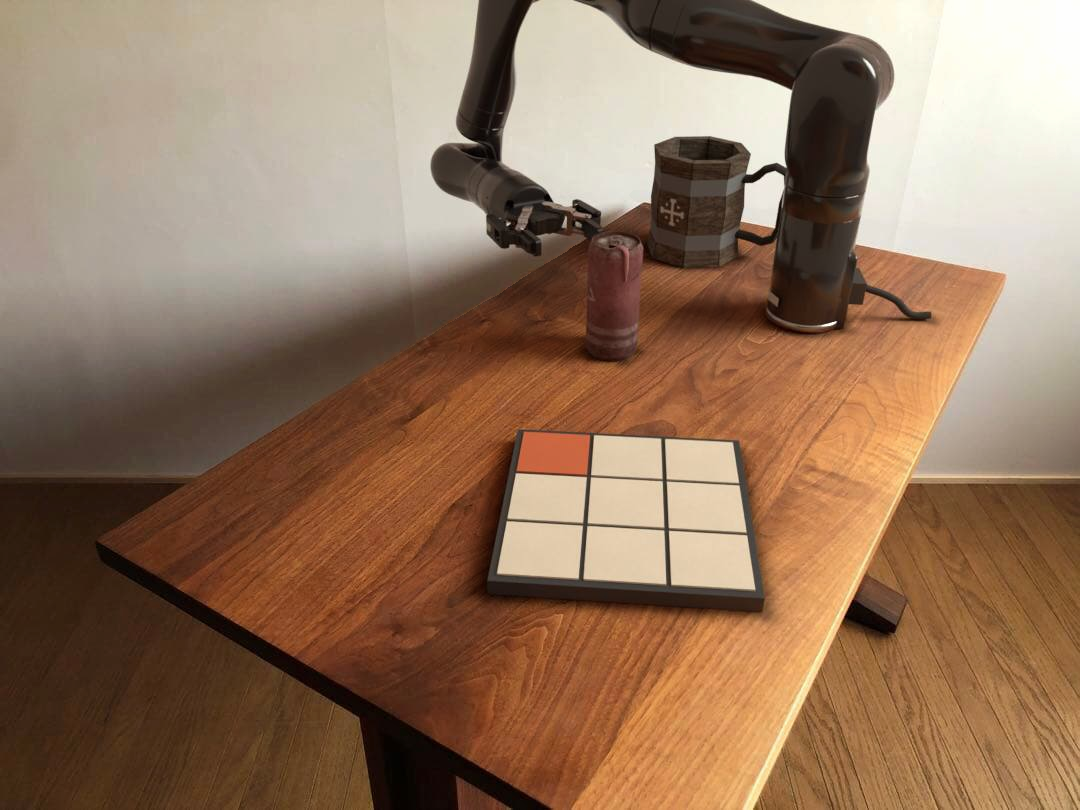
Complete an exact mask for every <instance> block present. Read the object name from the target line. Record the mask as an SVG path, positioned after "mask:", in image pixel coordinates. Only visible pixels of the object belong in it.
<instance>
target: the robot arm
mask: <svg viewBox="0 0 1080 810" xmlns="http://www.w3.org/2000/svg"><path fill="white" fill-rule="evenodd" d="M540 1H541V0H478V3H477V12H476V20H475V28H474V29H475V30H474V37H473V45H472V52H471V58H470V63H469V68H468V72H467V75H466V79H465V83H464V85H463V90H462V93H461V97H460V101H459V104H458V108H457V112H456V116H455V127H456V129H457V132H458V133H459V134H460V135H461V136H463V137H464V138H465V139H467V140H468V141H471V142H446V143H442V144H441V145H439V146H438V147H437V148H436V149H435V150H434V151H433V153H432V156H431V158H430V163H429V165H430V166H429V167H430V173H431V177H432V179H433V181H434V184H435V185H436V186H437V187H438V188H439V189H440V190H441V191H442V192H444V193H446V194H447V195H450V196H452V197H454V198H457V199H460V200H463V201H466V202H469V203H473V204H474V205H475V206H477V208H479V209H480V210H482V211H483V212H484V214H485V227H486V228H485V229H486V235H487V236H488V237H489V239H491V240H492V241H493V242H494V243H495V244H496V245H497V246H498V247H499V248H500V249H503V250H507V249H509V248H510V246H511V245H514V247H515V248H517V249H522V250H523V251H524V252H525V253H527V254H530V255H532V256H533V257H535V258H536V257H541V256H542V240H541V238H540V237H539V236H543V235H552V234H554V235H555V234H556V235H559V236H561V235H562V236H566V237H571V236H572V235H574V234H575V235H581V236H583V237H584V238H586V239H587V240H588V241H589V242H591V241H592V238H593V237H594V236H595V235H597V234H600V233H604V232H605V228H604V226H602V225H601V222H602V221H601V220H602V210H599V209H598V208H596V207H594V206H592V205H591V204H589V203H588V202H585V201H583V200H581V199H578V198H575V199H573V200H572V203H571V205H570V206H564V205H562V204H559V203H556V202H554V200H553V199H552V197H551V195H550V193H549V191H548V190H546V189H545V187H543V186H542V185H540V184H539V183H537V182H536V181H534V180H533V179H531V178H530V177H528V176H527V175H525V174H524V173H522V172H521V171H518V170H516V169H513V168H511V167H510V166H508V165H507V164H505V163H504V162H503V145H504V133H505V127H506V124H507V121H508V119H509V115H510V111H511V108H512V105H513V102H514V98H515V94H516V89H517V78H518V77H517V64H516V48H517V40H518V37H519V33H520V30H521V28H522V25H523V23H524V21H525V18H526V16H527V14H528V12H529V11H530V9H531V7H532V5H533V4H535V3H537V2H540ZM573 1H574V2H576V3H579V4H583V5H586V6H588V7H591V8H594V9H596V10H598V11H599V12H601V13H603V14H604V15H605V16H607V17H608V18H609V19H610V20H611V21H613V23H614V24H615V25H616V26H617V27H618V28H619V29H620V30H621V31H622V32H623V33H624V34H625V35H626V36H627V37H628V38H629V39H630V40H632V41H633V42H634V43H636V44H637V45H639V47H642V48H644V49H646V50H648V51H650V52H652V53H655V54H657V55H660V56H662V57H664V58H667V59H669V60H672V61H674V62H677V63H680V64H682V65H686V66H689V67H693V68H696V69H701V70H706V71H712V72H718V73H725V74H726V73H727V74H733V75H739V76H740V75H741V76H747V77H754V78H758V79H762V80H766V81H769V82H771V83H774V84H777V85H778V86H781V87H783V88H785V89H788V90H790V91H791V94H790V99H789V107H788V116H787V123H786V125H787V126H786V132H785V142H784V162H785V167H786V168H787V171H786V179H785V186H784V185H783V187H784V188H783V190H784V193H783V192H782V193H783V200H782V207H781V214H780V221H779V227H778V234H777V239H776V240H775V249H774V254H773V262H772V269H771V275H770V280H769V281H770V282H769V289H768V293H767V300H766V301H767V302H766V305H765V312H764V313H765V316H766V318H767V319H768V320H769V321H770V322H771V323H773V324H774V325H776V326H778V327H780V328H783V329H785V330H788V331H793V332H800V333H808V334H809V333H811V334H815V333H816V334H817V333H825V332H829V331H833V330H835V329H845V326H846V319H847V315H848V309H849V305H856V306H863V305H864V300H865V295H866V293H867V294H870V295H874V296H877V297H880V298H882V299H885V300H887V301H889V302H891V303H893V304H894V305H895V306H896V307H897V309H898V310H899V311H900V313H902V314H903V315H904V316H905V317H908V318H909V319H911V320H930V319H932V311H913V310H911V309H910V308H909V307H908V306H907V305H906V304H905V302H904V301H903V300H902V299H901V298H900V297H898V296H897V295H895V294H893V293H891V292H889V291H887V290H884V289H882V288H878V287H876V286H873V285H870V284H868V283H867V281H866V279H865V277H864V275H863V273H862V271H861V268H860V267H857V265H858V258H859V257H858V255H857V252H856V251H855V249H856V243H857V240H858V239H857V238H858V233H859V228H860V223H861V218H862V212H863V207H864V202H865V198H866V193H867V187H868V182H869V178H870V171H871V169H870V165H869V162H868V154H869V147H870V141H871V137H872V129H873V124H874V119H875V113H876V111H877V110H878V109H880V108H881V106H882V105H883V104H884V103H885V102H886V100H887V99H888V97H889V96H890V94H891V92H892V90H893V87H894V83H895V77H896V76H895V74H896V73H895V67H894V64H893V61H892V58H891V57H890V55H889V53H888V52H887V50H885V48H884V47H882V45H881V44H879V43H878V42H876V41H875V40H874V39H872V38H870V37H867V36H865V35H860V34H857V33H852V32H847V31H843V30H839V29H835V28H830V27H826V26H823V25H820V24H815V23H810V22H807V21H803V20H800V19H797V18H793V17H792V16H788V15H785V14H783V13H780V12H778V11H777V10H774V9H772V8H769V7H767V6H766V5H764V4H761V3H759V2H757V1H755V0H573ZM472 142H473V143H472ZM565 220H566V227H563V225H564V222H565ZM577 223H578V224H580V225H581V226H577Z"/></svg>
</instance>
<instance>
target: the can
mask: <svg viewBox="0 0 1080 810" xmlns="http://www.w3.org/2000/svg"><path fill="white" fill-rule="evenodd" d="M641 241H642V240H641V239H640V237H639V236H637V235H635V234H633V233H630V232H625V231H619V230H618V231H615V230H613V231H604V233H600V234H597V235H595V236H594V237H593V238H592V241H590V243H589V244H588V255H587V257H588V258H587V286H586V287H587V289H586V290H587V292H586V321H585V323H586V324H585V348H586V350H587V352H588V353H589V354H590V355H591V356H592V357H593V358H596V359H599V360H602V361H606V362H619V361H623V360H627V359H629V358H631V357H632V355H634V353H635V352H636V351H637V349H638V339H639V337H638V336H639V322H640V321H639V320H640V306H641V293H642V292H641V289H642V277H643V275H642V274H643V260H644V259H643V258H644V245H643V244H642V242H641Z"/></svg>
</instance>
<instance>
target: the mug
mask: <svg viewBox="0 0 1080 810" xmlns="http://www.w3.org/2000/svg"><path fill="white" fill-rule="evenodd" d="M653 147H654V148H653V149H654V150H653V151H654V172H653V181H652V188H651V194H650V227H649V234H648V238H647V244H646V245H647V248H648V250H649V252H650V254H651V257H652V259H655V260H657V261H659V262H660V261H661V262H663V263H665V264H666V263H667V264H670V265H673V266H676V267H678V268H682V269H691V268H692V269H694V268H695V269H696V268H697V269H698V268H720V267H722V266H723V265H725V264H726V263H729V262H731V261H732V260H734V259H736V258H737V257H738V256H739V240H742V241H745V242H748V243H752V244H755V245H757V246H760V247H763V246H767V245H771V244H774V243H775V242H776V241H777V234H778V227H779V221H780V214H781V207H782V200H783V193H784V189H783V190H782V193H781V196H780V199H779V202H778V208H777V212H776V220H775V225H774V229H773V230H772V232H771V234H770V235H766V236H761V235H758V234H757V233H754V232H752V231H749V230H745V229H741V228H740V226H741V223H742V222H741V221H742V218H743V213H744V209H745V194H746V193H745V190H746V184H755V183H756V182H758V181H760V180H761V179H762V178H763V177H765V175H767V174H771V173H773V172H775V173H778V174H780V175H781V176H783V187H784V186H785V179H786V171H787V168H786V166H784V165H782V164H780V163H778V162H774V163H769V164H765V165H763V166H762V167H761V168H759V169H758V170H757V171H755V172H754V173H752V174H751V173H750V174H749V173H748V168H749V165H750V161H751V160H750V159H751V156H752V153H751V152H750V151H749V150H748V148H746V146H745V145H744V144H743V143H742V142H740V141H734V140H730V139H726V138H721V137H716V136H711V135H708V136H707V135H702V136H701V135H700V136H698V135H697V136H694V135H693V136H673V137H671V138H668V139H665V140H663V141H659V142H657V143H655V144H654V145H653ZM747 173H748V174H747Z"/></svg>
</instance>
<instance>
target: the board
mask: <svg viewBox="0 0 1080 810" xmlns="http://www.w3.org/2000/svg"><path fill="white" fill-rule="evenodd" d="M744 468H745V467H744V462H743V455H742V450H741V443H740V440H738V439H719V438H701V437H700V438H697V437H695V438H694V437H679V436H678V437H677V436H659V435H642V434H641V435H640V434H638V435H637V434H619V433H618V434H617V433H601V432H600V433H599V432H583V431H582V432H581V431H562V430H561V431H559V430H543V429H542V430H540V429H523V428H522V429H521V428H519V429H517V431H516V436H515V441H514V446H513V451H512V456H511V462H510V467H509V472H508V476H507V481H506V487H505V491H504V495H503V501H502V505H501V511H500V516H499V520H498V526H497V531H496V535H495V540H494V546H493V550H492V554H491V561H490V565H489V570H488V573H487V574H488V575H487V580H486V584H487V586H486V588H487V595H494V596H495V595H496V596H509V597H511V596H512V597H528V598H539V599H540V598H541V599H557V600H574V601H589V602H601V603H602V602H603V603H605V602H606V603H620V604H632V605H633V604H634V605H649V606H650V605H651V606H666V607H679V608H681V607H682V608H695V609H696V608H697V609H711V610H725V611H726V610H727V611H740V612H741V611H742V612H758V613H763V612H764V606H765V600H766V597H765V596H766V595H765V589H764V584H763V578H762V573H761V566H760V559H759V554H758V548H757V541H756V535H755V530H754V529H755V528H754V523H753V517H752V510H751V505H750V499H749V494H748V493H749V491H748V487H747V481H746V474H745V469H744Z"/></svg>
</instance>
